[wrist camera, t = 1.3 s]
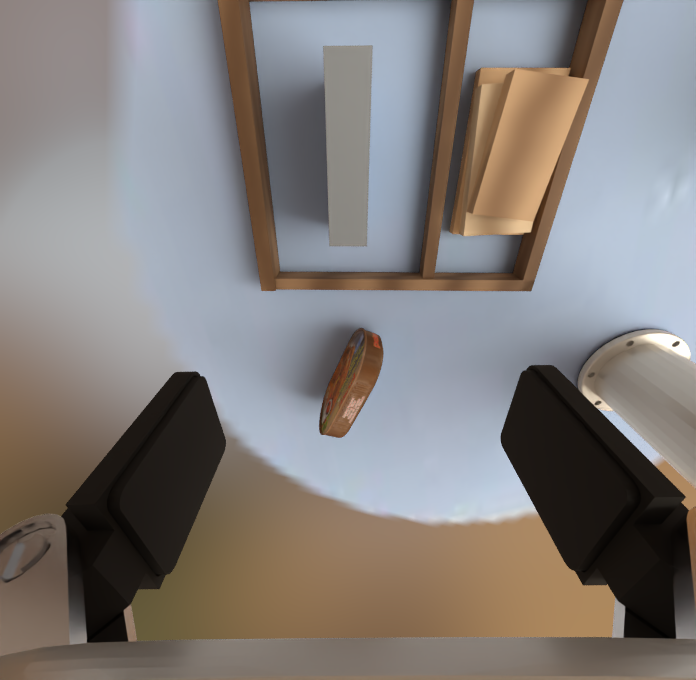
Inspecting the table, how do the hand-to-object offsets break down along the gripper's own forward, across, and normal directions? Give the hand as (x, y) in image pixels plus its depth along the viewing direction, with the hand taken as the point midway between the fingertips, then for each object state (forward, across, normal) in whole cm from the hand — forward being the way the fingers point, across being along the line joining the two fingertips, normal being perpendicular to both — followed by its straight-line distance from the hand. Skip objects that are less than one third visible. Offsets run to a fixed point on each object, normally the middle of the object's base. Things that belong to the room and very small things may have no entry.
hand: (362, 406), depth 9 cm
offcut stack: (+27, -14, -6) cm, 31 cm away
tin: (+27, +1, +18) cm, 32 cm away
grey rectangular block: (+27, 0, -6) cm, 28 cm away
